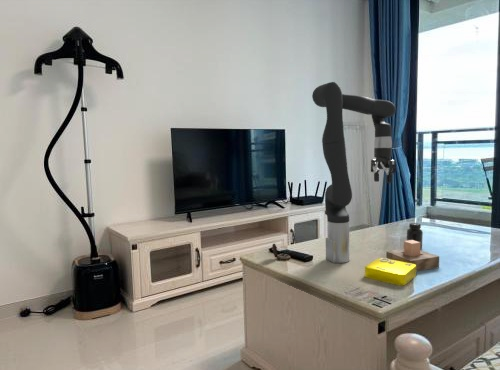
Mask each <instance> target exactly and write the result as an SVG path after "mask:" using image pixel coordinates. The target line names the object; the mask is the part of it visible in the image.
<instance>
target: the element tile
mask: <svg viewBox="0 0 500 370" xmlns="http://www.w3.org/2000/svg"><path fill="white" fill-rule="evenodd" d="M416 276H417V271H416V265H415V264H412V263H406V262H401V261H396V260H391V259H387V258H386V257H378V258H376V259H374V260H372V261H371V262H369V263H368V264H366V265H365V266H364V277H365V278H367V279H370V280H373V281H378V282H383V283H388V284H391V285H395V286H396V285H397V286H405V285H407V284H408V283H409V282H410V280H411V281H412V280H413V279H414V278H415V277H416Z"/></svg>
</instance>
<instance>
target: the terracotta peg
mask: <svg viewBox="0 0 500 370" xmlns="http://www.w3.org/2000/svg"><path fill="white" fill-rule="evenodd" d="M403 249H404V254H405V255H408V256H410V257H414V256H420V242H417V241H414V240H408V241H407V240H403Z"/></svg>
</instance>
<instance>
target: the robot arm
mask: <svg viewBox="0 0 500 370" xmlns="http://www.w3.org/2000/svg"><path fill="white" fill-rule="evenodd" d="M311 96H312V101H313V102H314V104H315V105H316V106H317V107H321V108H325V109H326V122H325V125H324V130H323V133H322V138H321V143H322V151H323V152H322V153H323V157H324V160H325V163H326V165H327V167H328V170H329V173H330V178H331V184H330V185H329V186H327V187H326V190H325V194H324V204H325V205H324V206H325V208H324V209H325V214H326V219H327V221H326V223H327V228H326V229H327V237H325V259H326V260H328V261H330V263H333V264H334V263H337V264H339V263H340V264H342V263H348V262H349V261H350V214H349V213H348V211H347V208H346V207H348V205H350V204H351V202H352V199H353V192H352V186H351V183H350V177H349V171H348V169H349V168H348V161H347V152H346V151H347V148H346V140H345V133H344V132H345V131H344V121H343V119H344V118H343V110H347V111H351V112H355V113H360V114H362V115H368V116H369V115H370V116H371V119H372V123H373V126H374V142H373V145H374V146H373V147H374V149H373V155H374V156H373V157H374V158H373V159H371V161H370V173H372V174H373V180H374V182H380V172H381V171H382V170H383V171H384V172H385V173H386V178H385V179H386V180H385V181H386V184H392V182H393V175H394V174H396V173H397V171H396V170H397V168H396V160H395V159H391V157H393V155H392V154H393V141H392V125H391V124H390V123H387V122H386V121H385V119H387V118H389V119H390V118H391V117H393V116H394V115H395V113H396V109H397V108H396V105H395V104H394V103H393V101H392V102H391V101H389V100H384V99H373V98H371V97H366V96H364V95H355V94H345V93H344V94H343V91H342V87H341V86H340V85H339V84H338V83H337V82H336V81H331V82H327V83H323V84H321V85H319V86H317V87H316V88H315V89H314V90H313V92H312V95H311Z"/></svg>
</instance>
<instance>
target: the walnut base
mask: <svg viewBox="0 0 500 370" xmlns="http://www.w3.org/2000/svg"><path fill="white" fill-rule="evenodd" d="M385 254H386V256H385V258H387V259H391V260H396V261H401V262H406V263H412V264H415V265H416V272H419V271H420V272H421V271H427V270H432V269H437V267H438V268H440V256H439V255H436V254H434V253H431V252H428V251H425V250H423V249H421V250H420V256H414V257H410V256H408V255H405V254H404V248H399V249H393V250H388V251H387V250H386V251H385ZM431 268H432V269H431Z"/></svg>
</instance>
